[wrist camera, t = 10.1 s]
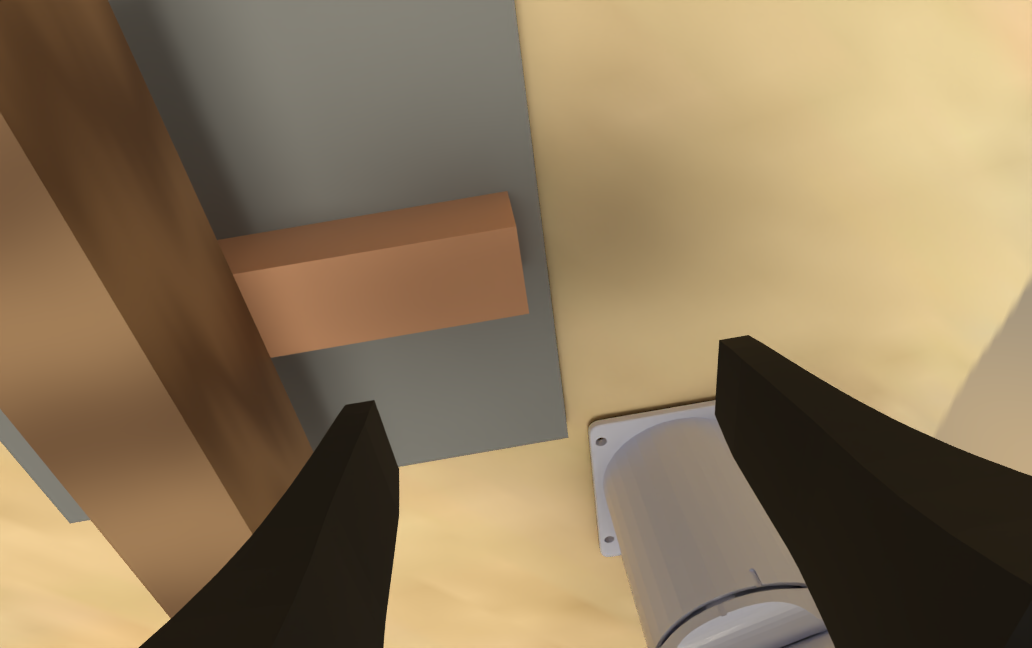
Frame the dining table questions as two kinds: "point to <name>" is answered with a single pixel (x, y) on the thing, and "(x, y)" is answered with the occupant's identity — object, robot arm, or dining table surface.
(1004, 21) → the dining table surface
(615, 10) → the dining table surface
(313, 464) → the robot arm
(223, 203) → the stand
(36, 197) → the walnut beam
